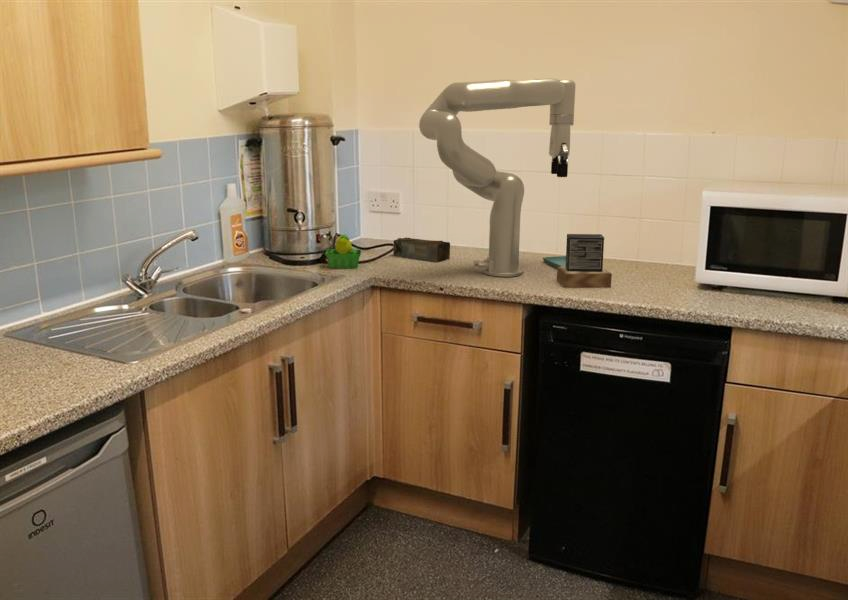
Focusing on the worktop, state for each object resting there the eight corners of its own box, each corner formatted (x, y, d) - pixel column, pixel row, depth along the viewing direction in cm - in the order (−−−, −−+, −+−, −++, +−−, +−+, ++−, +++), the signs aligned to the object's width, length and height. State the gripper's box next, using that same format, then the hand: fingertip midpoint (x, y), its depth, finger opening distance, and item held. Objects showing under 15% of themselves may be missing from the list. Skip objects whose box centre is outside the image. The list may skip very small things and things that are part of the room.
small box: (599, 267, 241) (602, 233, 239) (603, 272, 235) (605, 237, 232) (564, 266, 242) (566, 232, 239) (567, 271, 236) (568, 236, 233)
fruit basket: (361, 264, 264) (361, 230, 262) (360, 270, 256) (360, 235, 253) (327, 264, 264) (326, 230, 261) (325, 270, 256) (324, 235, 253)
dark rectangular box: (405, 253, 284) (405, 235, 282) (451, 259, 274) (451, 240, 272) (392, 256, 278) (392, 238, 276) (438, 263, 267) (439, 244, 266)
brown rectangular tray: (564, 287, 234) (565, 273, 233) (556, 279, 244) (557, 266, 243) (610, 287, 235) (611, 272, 234) (601, 279, 245) (602, 265, 244)
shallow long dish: (541, 263, 270) (541, 255, 269) (566, 261, 272) (566, 254, 272) (574, 280, 246) (575, 272, 245) (601, 278, 248) (602, 271, 247)
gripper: (544, 119, 257) (542, 172, 261) (555, 121, 240) (552, 178, 245) (567, 119, 257) (565, 172, 262) (579, 121, 241) (576, 178, 245)
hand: (559, 175), depth 253 cm, fingers open, 9 cm apart
